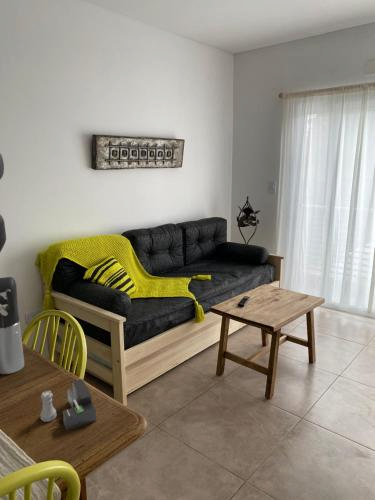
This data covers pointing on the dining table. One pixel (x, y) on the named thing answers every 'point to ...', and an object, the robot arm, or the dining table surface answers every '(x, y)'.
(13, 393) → the dining table surface
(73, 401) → the gauge plate
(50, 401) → the rook chess piece
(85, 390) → the gauge frame
